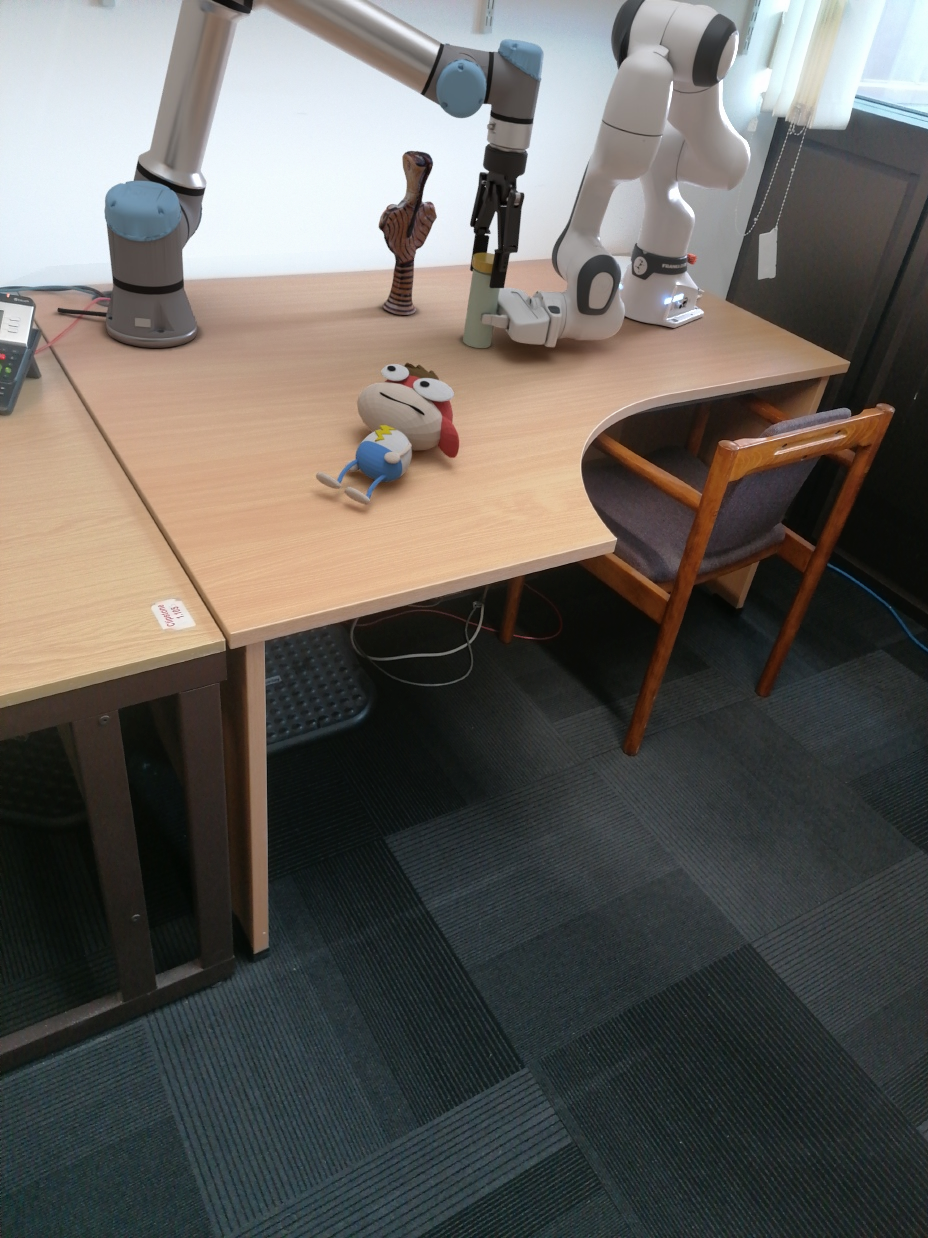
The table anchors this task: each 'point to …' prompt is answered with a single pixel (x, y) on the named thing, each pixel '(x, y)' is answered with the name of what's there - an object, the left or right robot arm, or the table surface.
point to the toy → (399, 425)
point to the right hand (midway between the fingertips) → (477, 311)
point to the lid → (483, 262)
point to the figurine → (407, 230)
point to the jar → (480, 310)
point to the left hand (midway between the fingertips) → (486, 278)
